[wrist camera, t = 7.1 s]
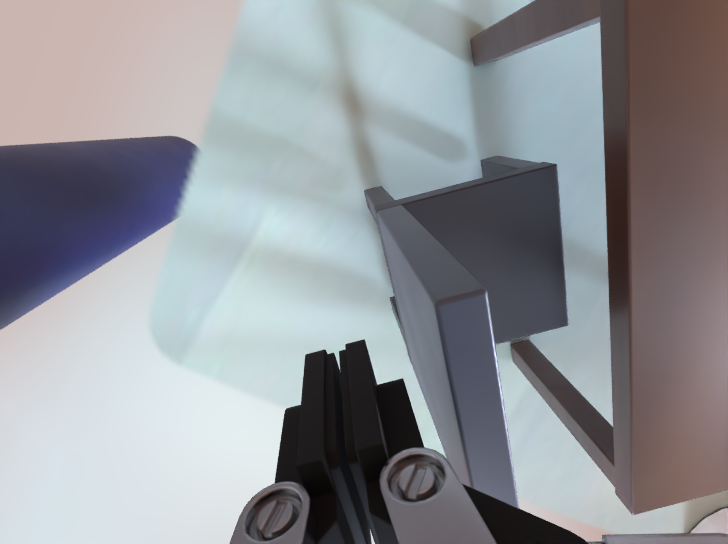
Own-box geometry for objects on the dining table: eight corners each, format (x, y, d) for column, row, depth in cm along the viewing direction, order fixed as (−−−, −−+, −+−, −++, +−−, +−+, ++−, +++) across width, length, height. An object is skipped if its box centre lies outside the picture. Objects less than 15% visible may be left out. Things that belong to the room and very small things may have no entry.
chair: (392, 312, 23) (485, 564, 10) (362, 189, 20) (433, 303, 7) (513, 280, 23) (770, 488, 10) (498, 154, 20) (812, 203, 7)
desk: (510, 363, 25) (632, 516, 15) (467, 36, 19) (625, -62, 9) (699, 313, 25) (943, 433, 15) (718, -29, 19) (1148, -197, 9)
